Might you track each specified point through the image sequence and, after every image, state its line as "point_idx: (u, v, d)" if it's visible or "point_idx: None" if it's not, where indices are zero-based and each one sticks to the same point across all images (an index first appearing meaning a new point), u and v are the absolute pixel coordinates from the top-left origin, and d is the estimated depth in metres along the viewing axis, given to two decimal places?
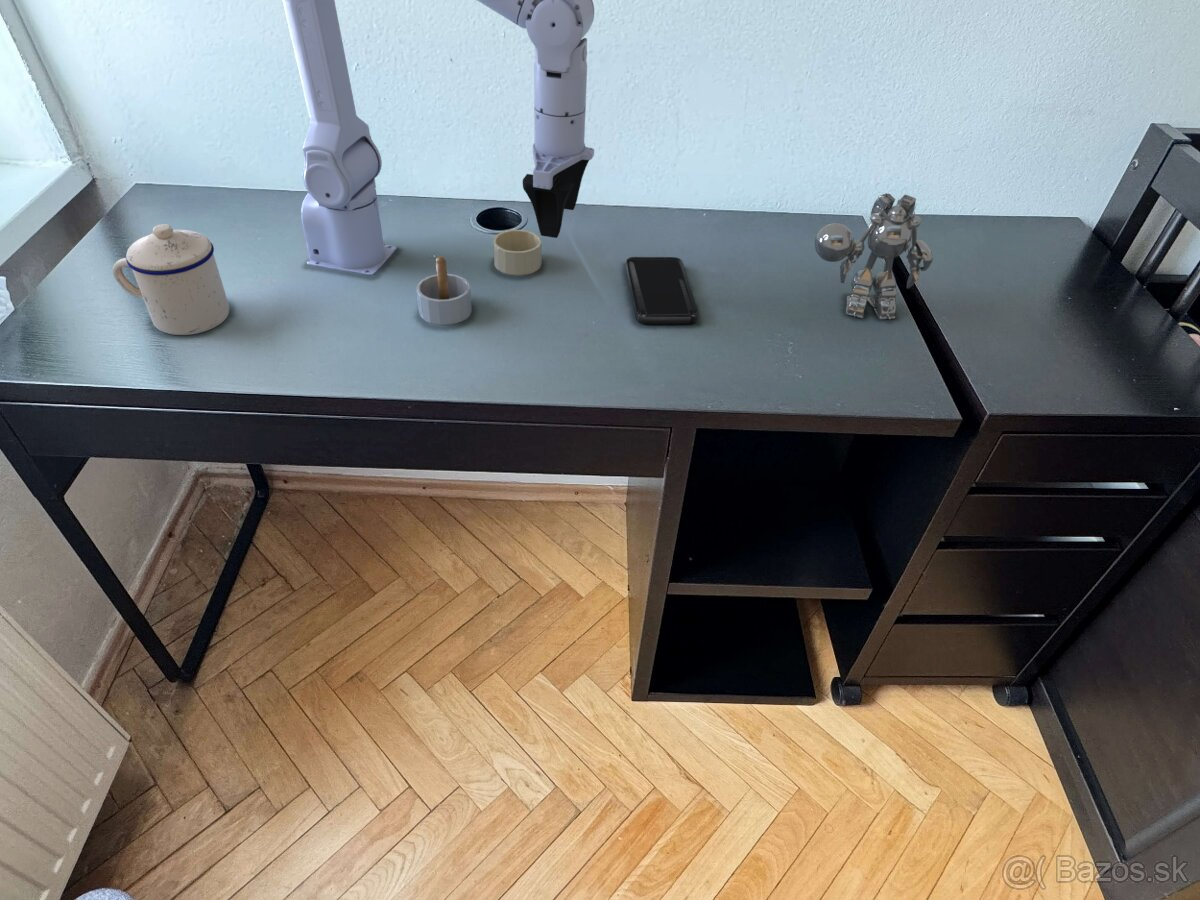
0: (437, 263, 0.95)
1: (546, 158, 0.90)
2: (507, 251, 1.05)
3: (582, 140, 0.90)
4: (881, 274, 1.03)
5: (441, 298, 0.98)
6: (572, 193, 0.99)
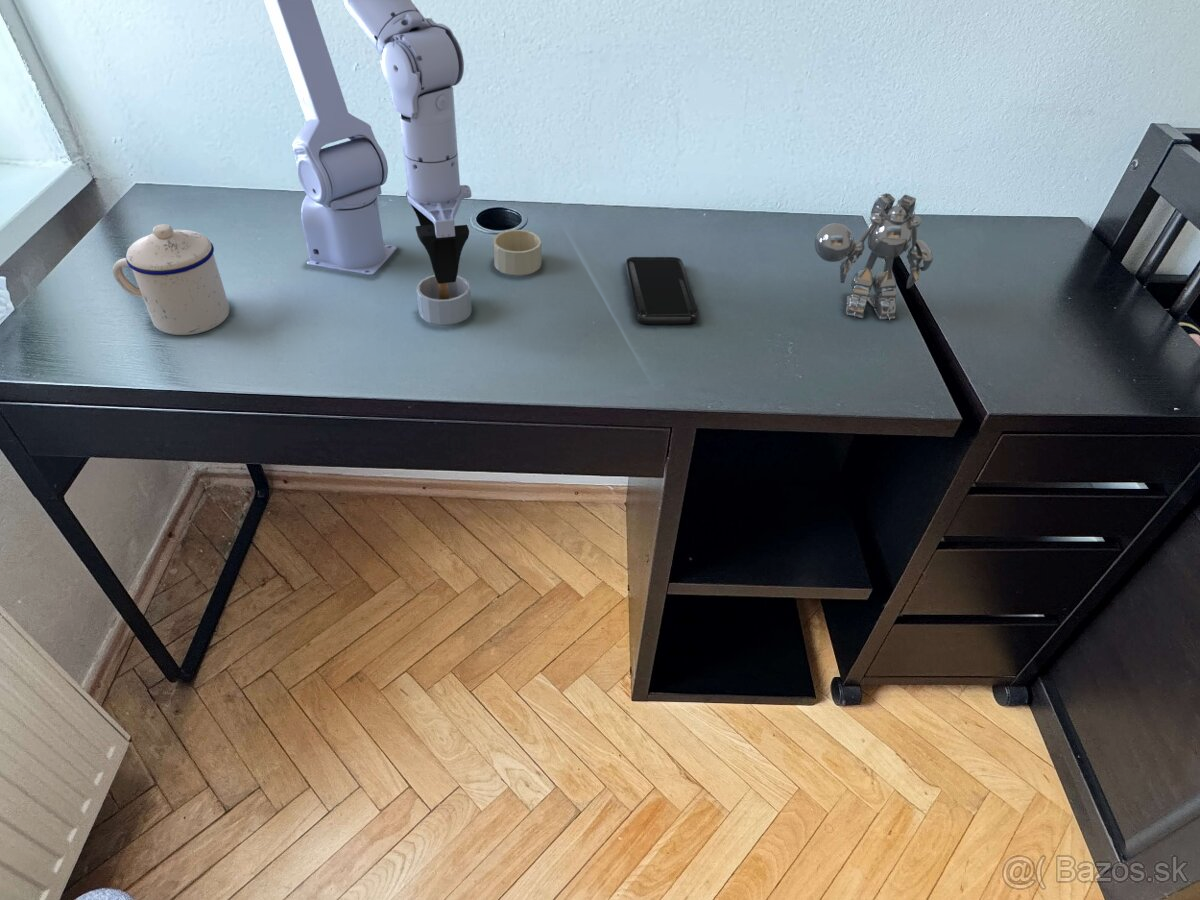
0: None
1: (432, 206, 0.87)
2: (507, 251, 1.05)
3: (459, 180, 0.89)
4: (881, 274, 1.03)
5: (441, 298, 0.98)
6: None
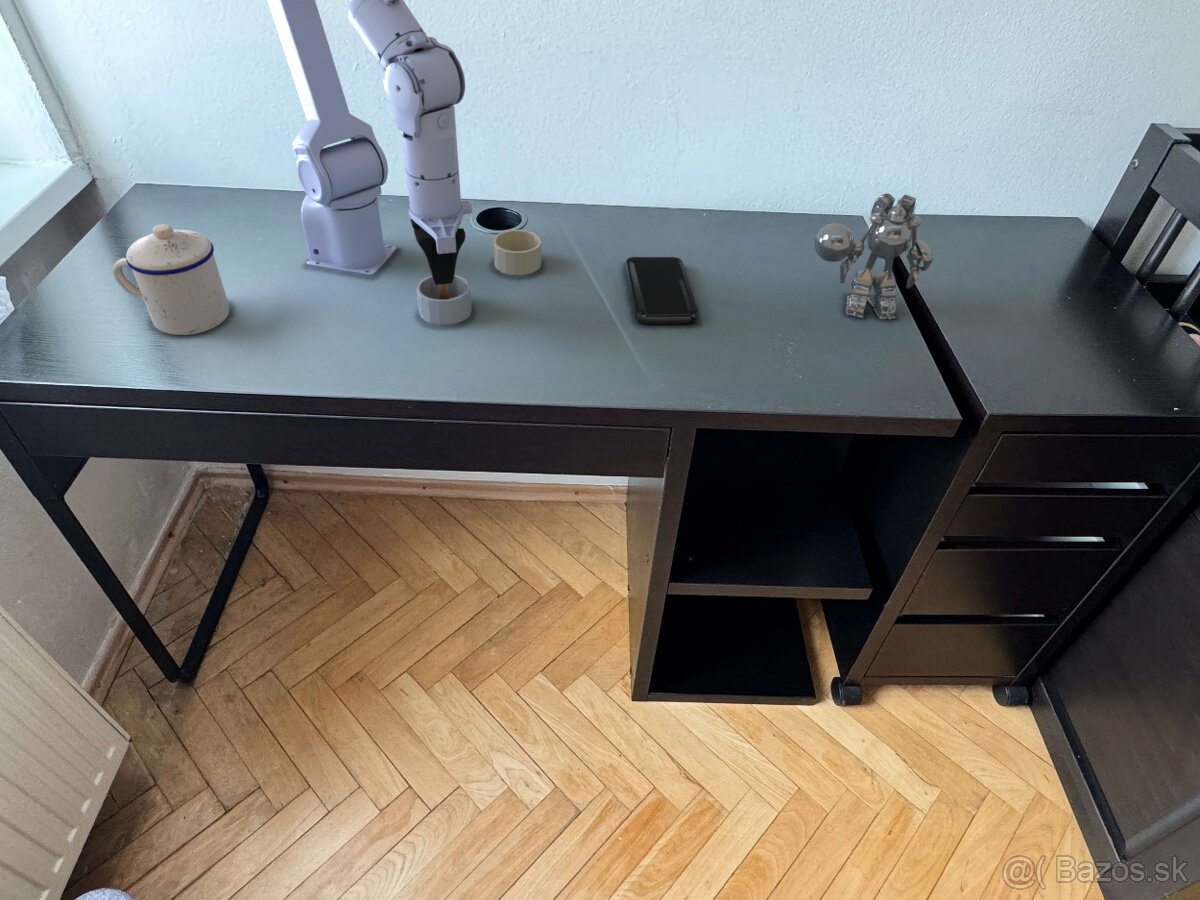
0: None
1: (434, 222, 0.88)
2: (507, 251, 1.05)
3: (460, 196, 0.90)
4: (881, 274, 1.03)
5: (441, 298, 0.98)
6: None
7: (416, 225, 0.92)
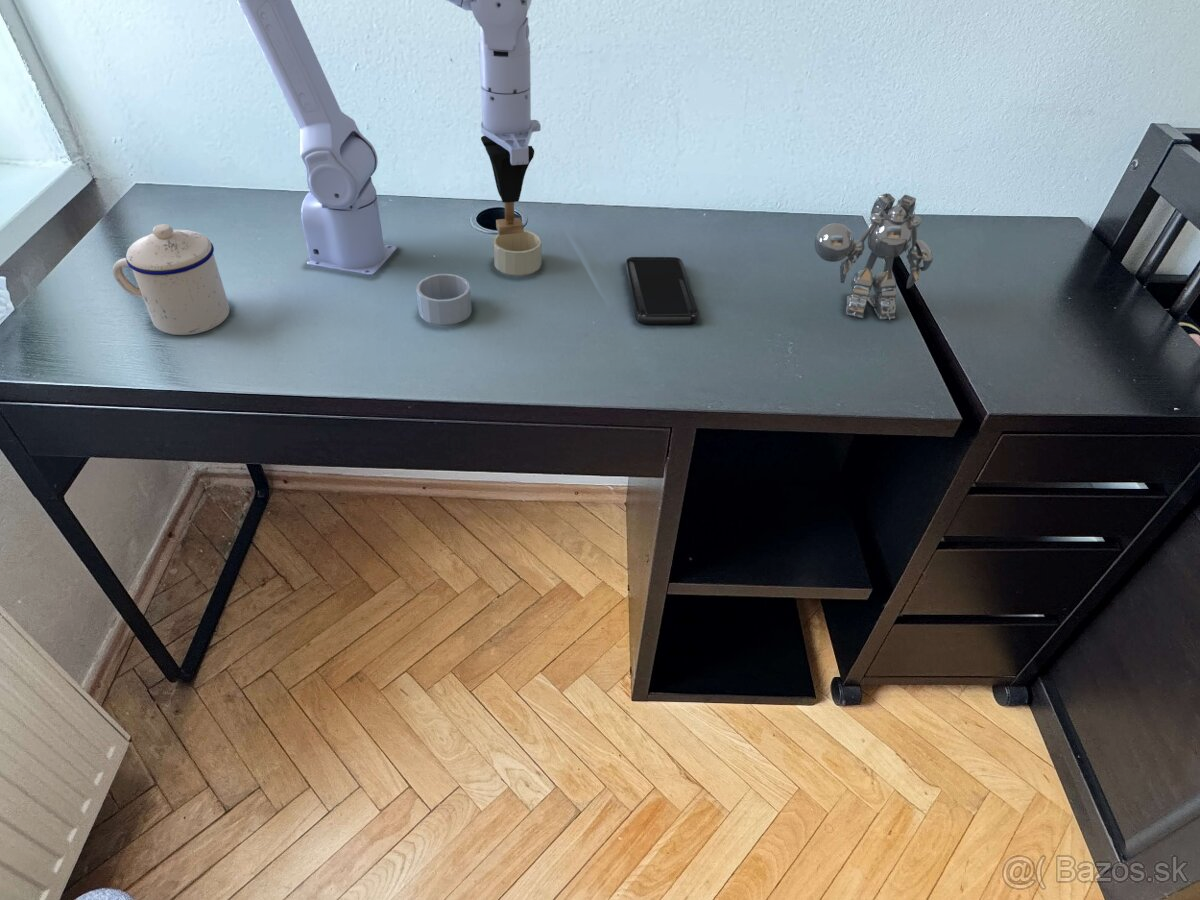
0: None
1: (506, 136, 0.93)
2: (507, 251, 1.05)
3: (530, 113, 0.95)
4: (881, 274, 1.03)
5: (507, 217, 1.03)
6: None
7: (487, 143, 0.97)
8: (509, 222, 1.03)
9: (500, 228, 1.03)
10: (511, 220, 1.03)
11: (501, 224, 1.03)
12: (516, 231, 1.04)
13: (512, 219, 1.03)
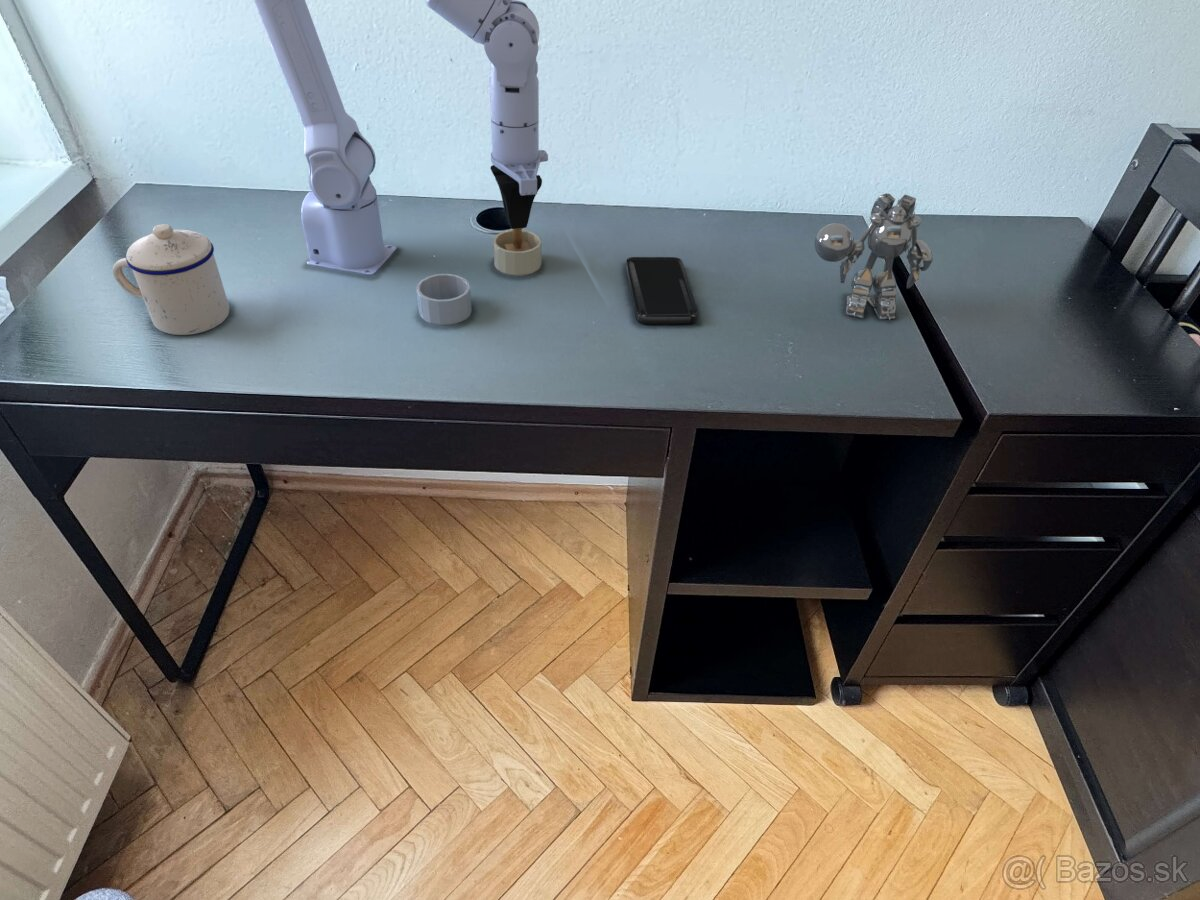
0: None
1: (515, 167, 0.97)
2: (507, 251, 1.05)
3: (538, 145, 0.99)
4: (881, 274, 1.03)
5: (515, 242, 1.07)
6: None
7: (496, 172, 1.01)
8: (517, 247, 1.07)
9: None
10: (519, 245, 1.07)
11: (509, 249, 1.07)
12: None
13: (520, 244, 1.07)
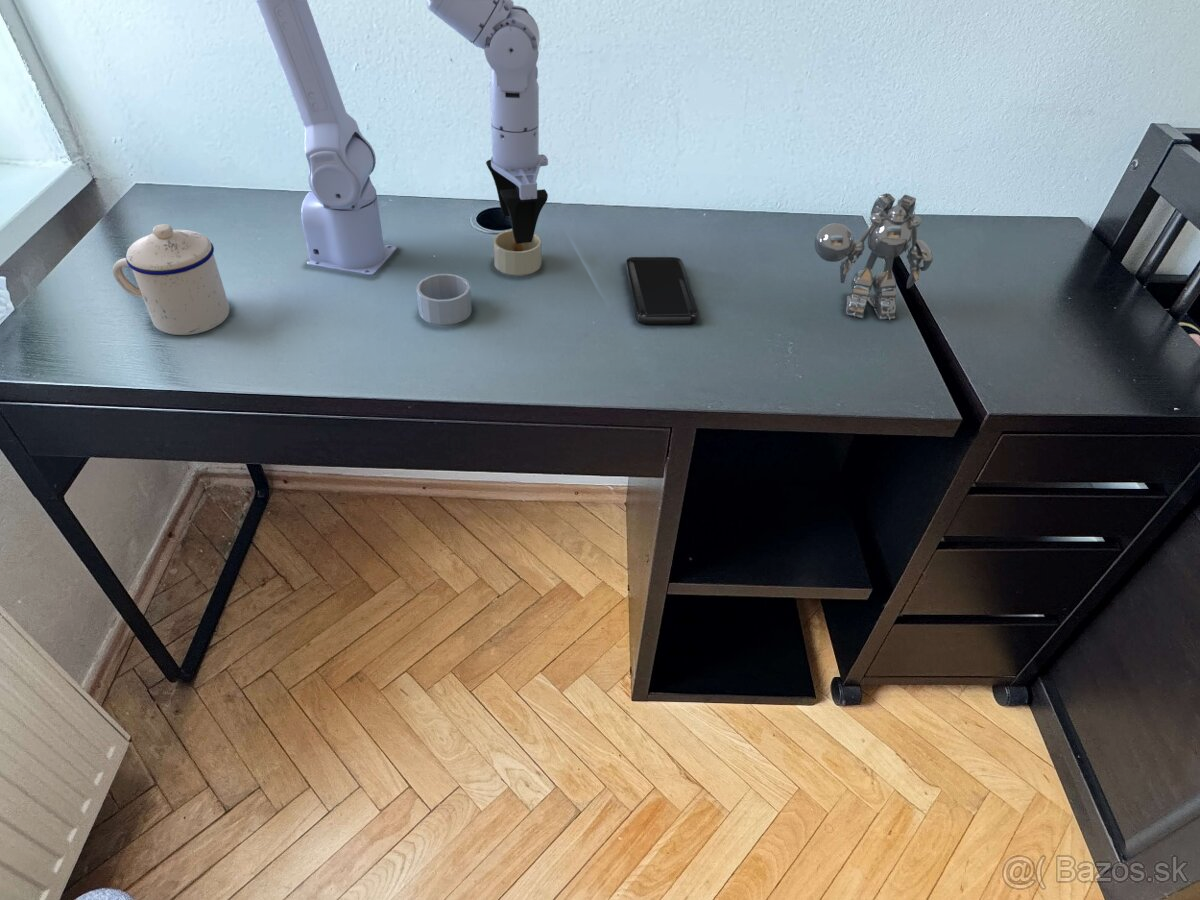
0: None
1: (515, 172, 0.97)
2: (507, 251, 1.05)
3: (538, 149, 0.99)
4: (881, 274, 1.03)
5: None
6: None
7: (492, 167, 1.03)
8: None
9: None
10: None
11: None
12: None
13: None
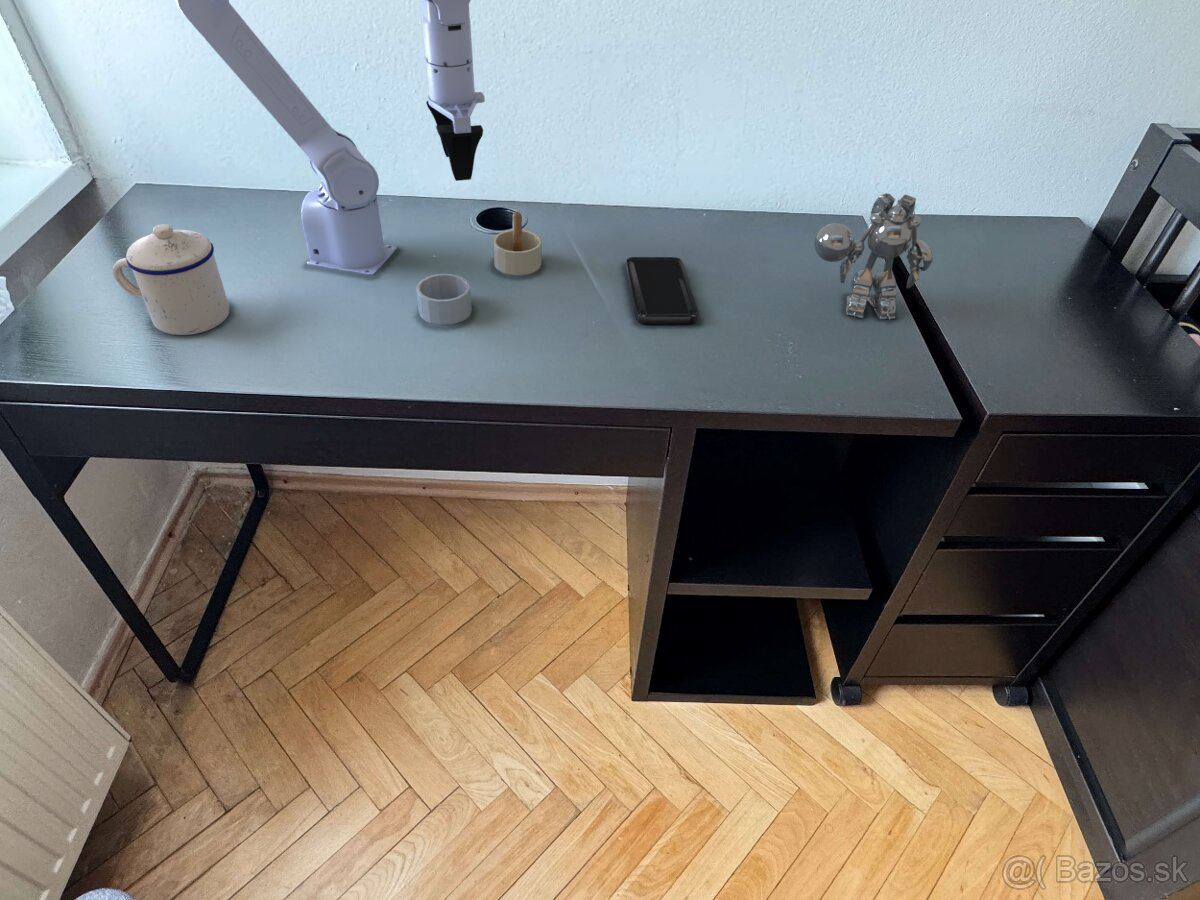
0: (514, 218, 1.04)
1: (451, 107, 0.99)
2: (507, 251, 1.05)
3: None
4: (881, 274, 1.03)
5: None
6: None
7: (431, 106, 1.05)
8: None
9: None
10: None
11: None
12: None
13: None
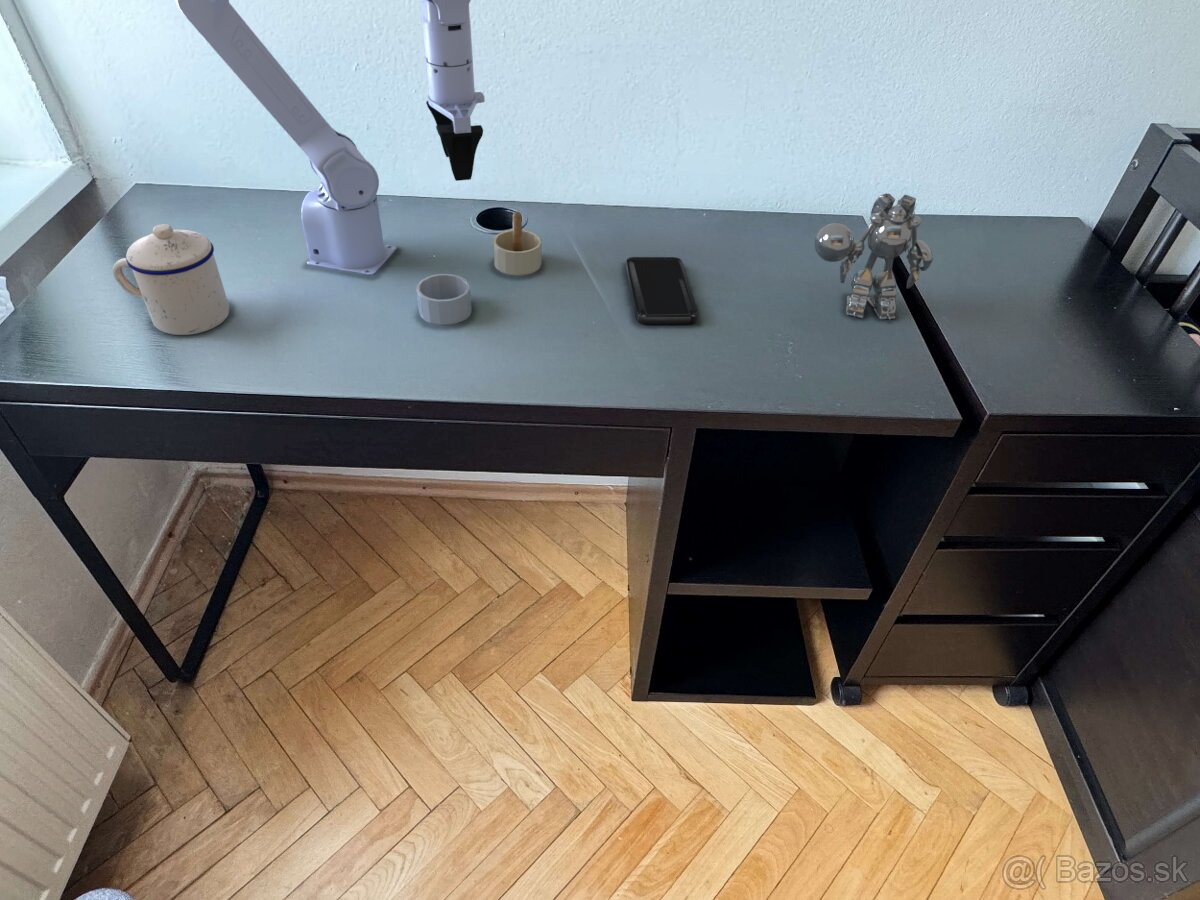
0: (514, 218, 1.04)
1: (451, 107, 0.99)
2: (507, 251, 1.05)
3: None
4: (881, 274, 1.03)
5: None
6: None
7: (431, 106, 1.05)
8: None
9: None
10: None
11: None
12: None
13: None
